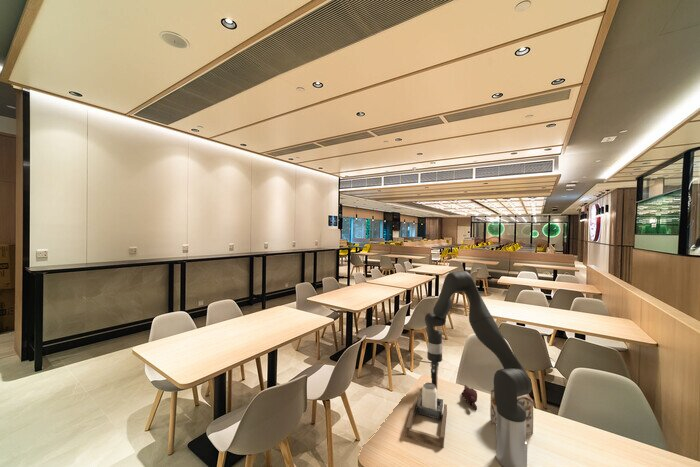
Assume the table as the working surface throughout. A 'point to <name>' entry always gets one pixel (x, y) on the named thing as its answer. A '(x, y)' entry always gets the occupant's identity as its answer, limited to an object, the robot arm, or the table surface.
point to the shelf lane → (421, 435)
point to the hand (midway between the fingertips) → (434, 383)
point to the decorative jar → (523, 401)
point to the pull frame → (429, 411)
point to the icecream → (470, 396)
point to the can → (429, 396)
